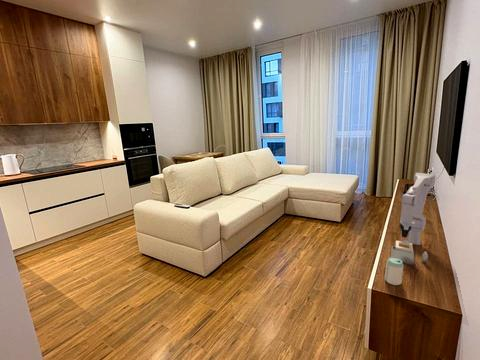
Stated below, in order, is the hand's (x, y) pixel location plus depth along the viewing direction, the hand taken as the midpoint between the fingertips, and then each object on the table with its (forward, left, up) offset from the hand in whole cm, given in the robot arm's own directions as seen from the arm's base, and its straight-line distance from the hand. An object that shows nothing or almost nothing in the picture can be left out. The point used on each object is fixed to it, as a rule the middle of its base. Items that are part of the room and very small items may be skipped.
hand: (404, 236), depth 149 cm
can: (+33, -4, -10) cm, 35 cm away
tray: (+5, 0, -10) cm, 11 cm away
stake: (+7, +10, -10) cm, 16 cm away
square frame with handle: (+5, 0, -3) cm, 6 cm away
